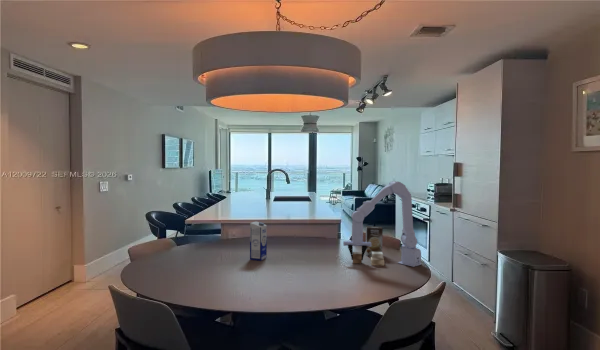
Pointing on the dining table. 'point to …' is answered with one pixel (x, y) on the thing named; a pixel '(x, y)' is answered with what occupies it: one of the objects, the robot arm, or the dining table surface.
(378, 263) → the base block
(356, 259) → the walnut block
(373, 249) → the coffee box
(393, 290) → the dining table surface
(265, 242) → the milk carton
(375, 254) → the top block
